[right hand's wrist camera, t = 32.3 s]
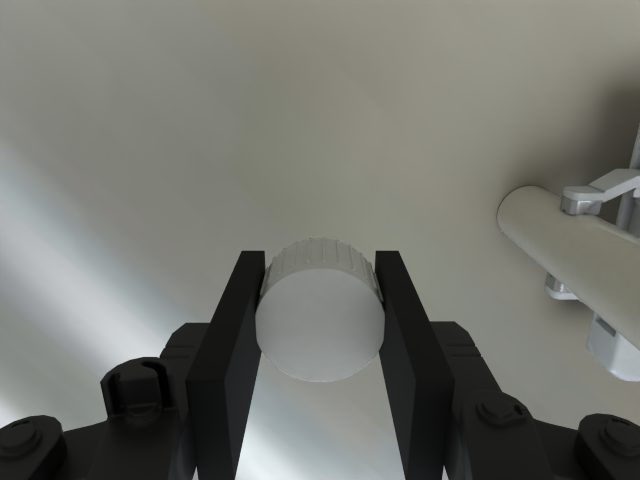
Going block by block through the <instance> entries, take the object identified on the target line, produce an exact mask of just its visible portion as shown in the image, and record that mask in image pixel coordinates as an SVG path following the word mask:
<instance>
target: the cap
mask: <svg viewBox="0 0 640 480" xmlns="http://www.w3.org/2000/svg"><path fill="white" fill-rule="evenodd" d="M259 295H260V298H259V301H258V305H257V310H256V313H255V321H256V337H257V343H258V345H259V347H260V349H261V351H262V352H263V354H264V355H265V357H266V358H267V359H268V360H269V361H270V362H271V363H272V364H273V365H274V366H275V367H276V368H278V369H279V370H281V371H282V372H284V373H286V374H288V375H290V376H292V377H295V378H298V379H301V380H305V381H312V382H328V381H335V380H339V379H343V378H346V377H348V376H351V375H353V374H355V373H356V372H358V371H360V370H361V369H363V368H364V367H365V366H366V365H368V364H369V363H370V362H371V361H372V359H373V358H374V357H375V356H376V354H377V353H378V351H379V350H380V348H381V346H382V343H383V340H384V326H385V312H384V308H383V304H382V302H383V297H382V294H381V290H380V287H379V283H378V279H377V276H376V273H373V270H372V266H371V263H370V262H369V263H368V262H367V260H366V259H365V258H364V257H363V254H362V253H359V252H358V251H357V250H355V249H354V248H352V246H351V245H347V244H345V243H342V242H339V240H331V239H325V238H322V239H321V238H318V239H311V238H309V239H308V240H304V241H301V242H295V244H293V245H291V246H290V247H288V248H286V249H285V248H284V249H283V251H282V252H281V253H280V254H279V255H278V256H277V257H274V258H273V262H272V263H271V265H270V267H269V268H268V267H267V269H266V272H265V276H264V280H263V283H262V287H261V290H260V294H259Z"/></svg>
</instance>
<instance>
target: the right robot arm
mask: <svg viewBox="0 0 640 480" xmlns="http://www.w3.org/2000/svg"><path fill="white" fill-rule="evenodd" d="M265 272H266V271H265V251H242V252H241V254H240V256H239V259H238V261H237V263H236V265H235V268H234V270H233V272H232V274H231V277H230V279H229V281H228V284H227V286H226V288H225V290H224V293H223V295H222V297H221V299H220V302H219V304H218V306H217V308H216V311H215V313H214V315H213V318H212V320H211V322H210V323H185V324H184V325H183V326H181V327H180V328H179V329H177V330H176V331H175V332H174V333H172V335H171V337H170V339H169V340H168V342H167V344H166V347H165V348H164V349H163V351H162V353H161V354H160V358H158V357H142V358H137V359H132V360H129V361H127V362H124V363H122V364H120V365H117V366H116V367H115V368H113V369H112V370H110V371H109V372H108V373H106V375H105V376H104V378H103V379H102V380H101V382H100V384H101V389H102V393H103V398H104V402H105V407H106V411H107V415H108V418H107V420H106V421H104V422H101V423H97V424H94V425H90V426H86V427H82V428H78V429H73V430H69V431H65V432H63V430H62V426H61V423H60V422H59V421H58V420H57V419H56V418H55V417H50V416H45V415H40V416H30V417H26V418H23V419H20V420H17V421H14V422H12V423H10V424H8V425H6V426H4V427H3V428H1V429H0V480H192V479H193V476H194V472H195V469H196V466H197V472H198V479H199V480H235V476H236V471H237V466H238V462H239V457H240V452H241V447H242V443H243V438H244V433H245V428H246V424H247V419H248V414H249V409H250V405H251V400H252V395H253V390H254V385H255V381H256V376H257V371H258V366H259V362H260V357H261V352H262V351H261V349H260V347H259V345H258V343H257V337H256V321H255V313H256V310H257V305H258V301H259V298H260V295H259V294H260V290H261V287H262V283H263V280H264V276H265ZM375 273H376V276H377V279H378V283H379V287H380V290H381V294H382V297H383V302H382V304H383V308H384V312H385V326H384V340H383V343H382V346H381V348H380V350H379V356H380V360H381V365H382V370H383V375H384V379H385V384H386V389H387V394H388V398H389V403H390V408H391V413H392V418H393V422H394V427H395V432H396V437H397V441H398V446H399V451H400V456H401V460H402V465H403V470H404V475H405V479H406V480H442V474H443V467H444V466H445V469H446V473H447V476H448V479H449V480H640V426H638V425H636V424H634V423H632V422H630V421H629V420H626V419H623V418H620V417H617V416H614V415H609V414H598V413H597V414H592V415H587V416H585V417H584V418H583V419H582V420H581V421H580V424H579V427H578V430H574V429H570V428H566V427H562V426H557V425H553V424H549V423H545V422H542V421H539V420H536V419H534V418H533V417H532V415H531V414H530V412H529V411H528V409H527V407H526V406H524V405H523V404H522V403H521V402H520V401H518V400H517V399H516V398H514V397H512V396H510V395H508V394H506V393H504V392H502V391H501V389H500V387H499V385H498V384H497V382H496V380H495V378H494V377H493V375H492V373H491V371H490V370H489V368H488V366H487V364H486V363H485V361H484V359H483V357H481V354H480V352H479V350H478V349H477V347H475V343H474V342H473V340H472V338H471V336H470V335H469V333H468V332H467V331H466V330H465V329H463V328H462V327H461V326H460V325H458V324H457V323H456V322H430V321H429V319H428V317H427V315H426V312H425V310H424V308H423V306H422V303H421V301H420V299H419V296H418V294H417V292H416V290H415V287H414V285H413V283H412V281H411V278H410V276H409V274H408V272H407V269H406V267H405V265H404V262H403V260H402V258H401V256H400V253H399V251H376V257H375Z"/></svg>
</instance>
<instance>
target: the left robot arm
mask: <svg viewBox="0 0 640 480" xmlns="http://www.w3.org/2000/svg"><path fill="white" fill-rule="evenodd" d="M621 194H622V199H621V203H620V207H619V211H618V215H617V219H616V223H615V226H617V227H619V228H621V229H623V230H625V231H627V232H629V233H631V234H633V235H635V236H637V237H639V238H640V124H639V129H638V133H637V137H636V141H635V145H634V149H633V153H632V157H631V161H630V166H629V169H614V170H613V171H611V172H609V173H607V174H606V175H604V176H602V177H600V178H599V179H597V180H595V181H593V182H591V183H590V184H588V186H567V187H564V189H563V194H562V199H561V205H560V209H561V210H565V212H566V213H568V214H571V215H583V214H585V213H586V214H588V215H599V213H600V209H601V205H602V203H604V202H606V201H608V200H610V199H612V198H615V197H617V196H619V195H621ZM544 290H545V291H546V292H547V293H548V294H549V295H550V296H551V297H552V298H555V299H559V300H567V299H578V298H577V297H576V296H575V295H574V294H573V293H571V292H570V291H569V290H568V289H567V288H566V287H565V286H563V285H562V284H561V283H560V282H559V281H558V280H556V279H555V278H554V277H553V276H552V275H551V274H549V273H548V272H547V277H546V282H545V287H544ZM578 300H579V301H581V300H580V299H578ZM581 302H582V301H581ZM586 347H587V349H588V351H589V352H590V353H591V354H592V355H593V356H594V358H595V359H596V360H597V361H598V362H599V363H600V364H601V365H602V366H603V367H604V368H605V369H606V370H607V371H609V372H610V373H611V374H613V375H614V376H616V377H617V378H619V379H622V380H626V381H640V351H639V350H638V349H636V348H635V347H634V346H633V345H632V344H631V343H629V342H628V341H627V340H626V339H625V338H624V337H623V336H621V335H620V334H619V333H618V332H617V331H616V330H614V329H613V328H612V327H611V326H610V325H609V324H607V323H606V322H605V321H604V320H603V319H602V318H600V317H599V316H598V315H597V314H596V313H595V312H594V313H593V318H592V322H591V326H590V330H589V334H588V338H587V342H586Z"/></svg>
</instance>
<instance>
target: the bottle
mask: <svg viewBox="0 0 640 480" xmlns="http://www.w3.org/2000/svg"><path fill="white" fill-rule="evenodd" d="M561 199H562V198H560V197H559V196H557V195H555V194H553V193H551V192H549V191H547V190H545V189H543V188H540V187H537V186H525V187H521V188H518V189H516V190H514V191H513V192H511V193H510V194H509V195H507V196H506V197H505V199H504V200H503V201H502V203H501V205H500V207H499V209H498V213H497V222H498V226H499V228H500V230H501V231H502V233H503V234H504V235H505V236H507V237H508V238H509V239H510V240H511V241H512V242H513V243H515V244H516V245H517V246H518V247H519V248H520V249H522V250H523V251H524V252H525V253H526V254H527V255H529V256H530V257H531V258H532V259H533V260H534V261H536V262H537V263H538V264H539V265H540V266H541V267H542V268H544V269H545V270H546V271H547V272H548V273H549V274H551V275H552V276H553V277H554V278H555V279H556V280H558V281H559V282H560V283H561V284H562V285H563V286H565V287H566V288H567V289H568V290H569V291H570V292H571V293H573V294H574V295H575V296H576V297H577V298H578V299H580V300H581V301H582V302H583V303H584V304H585V305H587V306H588V307H589V308H590V309H591V310H592V311H594V312H595V313H596V314H597V315H598V316H599V317H600V318H602V319H603V320H604V321H605V322H606V323H607V324H609V325H610V326H611V327H612V328H613V329H614V330H616V331H617V332H618V333H619V334H620V335H621V336H623V337H624V338H625V339H626V340H627V341H628V342H629V343H631V344H632V345H633V346H634V347H635V348H636V349H638V350H639V351H640V238H639V237H637V236H635V235H633V234H631V233H629V232H627V231H625V230H623V229H621V228H619V227H617V226H615V225H613V224H611V223H609V222H607V221H606V220H604V219H602V218H600V217H598V216H596V215H588V214H586V213H585V214H583V215H571V214H568V213H566V212H565V210H561V209H560V205H561Z"/></svg>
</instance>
